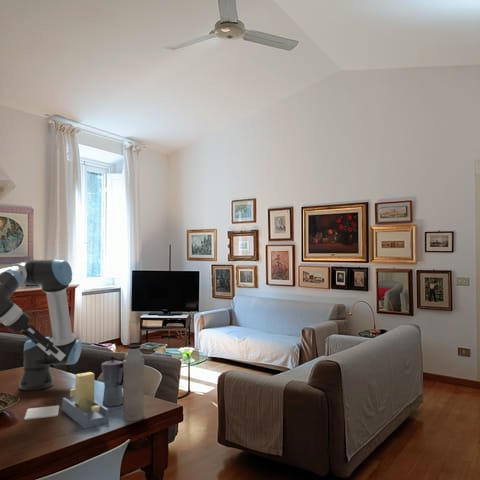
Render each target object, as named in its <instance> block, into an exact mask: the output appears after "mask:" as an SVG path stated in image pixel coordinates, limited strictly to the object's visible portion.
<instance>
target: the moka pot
mask: <svg viewBox="0 0 480 480" xmlns="http://www.w3.org/2000/svg"><path fill="white" fill-rule="evenodd" d="M100 367H101V372H102V373H101V374H102V379H103V380H102V381H103V382H104V383H103V384H104V385H103V386H104V388H103V397H102V405H103V406H104V407H116V406H122V405H123V360H115V356H111V357H110V360H108V361H103V362H102V363H101V364H100Z"/></svg>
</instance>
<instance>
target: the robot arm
mask: <svg viewBox="0 0 480 480" xmlns="http://www.w3.org/2000/svg"><path fill="white" fill-rule="evenodd" d="M72 280H73V271H72V267H71V264H70V263H69V262H68V261H66V260H64V259H29V260H26V261H21V262H17V263H12V264H10V265H8V266H7V267H2V268H0V324H3V325H4V326H5V327H6V328H7V329H8V330H9V331H10V332H12V333H13V334H17V333H19V332H21V334H22V335H23V336H25V337H26V338H27V339H29V340H26V341H25V342H24V344H23V372H22V375H21V377H20V381H19V383H18V385H19V387H18V389H19V390H22V391H37V390H43V389H44V390H45V389H47V388H49V387H52V386H53V385H54V377H53V375H52V371H51V370H50V369H51V368H50V367H51V365H75V364H76V363H78V361H79V358H80V356H81V352H82V349H83V348H82V341H81V340H80V339H77V335H76V334H75V333H73V332H72V331H73V330H72V325H71V318H70V309H69V303H68V296H67V295H68V294H67V289H68V288H69V286H70V284H71V283H72ZM20 285H27V286H28V285H30V286H40V287H41V291H42V292H43V293H45V294H46V301H47V306H48V307H47V308H48V314H49V319H50V320H49V321H50V327H51V332H52V337H50V336H44V335H43V334H42V333H41V332H40V331H39V330H37V328H35V327H34V326H33V325H31V324H29V322H30V321H31V316H30V315H28V314H27V313H26V312H25V311H23V309H22V308H21V307H19V306H18V305H17V304H16V303H15V302H14V301H12V300H11V299H10V298H11V297H12V296H13V294H14V293H15V292H16V290H17V289H19V288H20Z"/></svg>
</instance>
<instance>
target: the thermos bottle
mask: <svg viewBox="0 0 480 480" xmlns="http://www.w3.org/2000/svg"><path fill="white" fill-rule="evenodd" d="M143 357H144V356H143V353H142V352H141V344H129V345H127V352H126V353H125V355H124V358H125V359H123V360H122V362H123V385H122V393H123V404H122V420H124V421H127V422H133V421H134V422H136V421H139V420H143V418H144V417H145V398H144V394H145V359H144V358H143Z"/></svg>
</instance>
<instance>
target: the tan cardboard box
mask: <svg viewBox="0 0 480 480" xmlns="http://www.w3.org/2000/svg"><path fill="white" fill-rule="evenodd" d="M75 388H76V391H75V397H74V399H75V400H74V402H75V405H76V406H77V407H79V408H80V409H81V410H83V411H84V412H85V411H90V410H91V407H92V406H94V400H95V373H94V372H91V371H87V372H82V373H76V374H75Z"/></svg>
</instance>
